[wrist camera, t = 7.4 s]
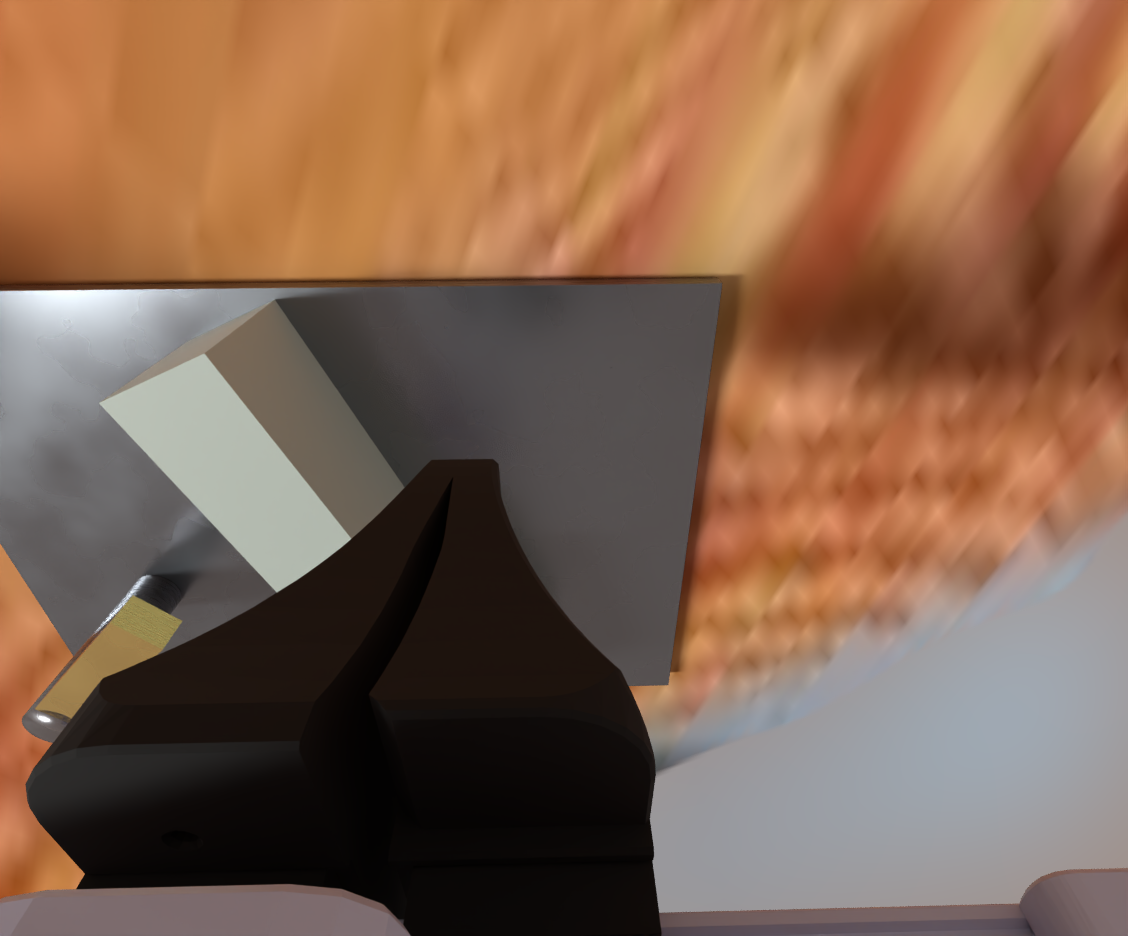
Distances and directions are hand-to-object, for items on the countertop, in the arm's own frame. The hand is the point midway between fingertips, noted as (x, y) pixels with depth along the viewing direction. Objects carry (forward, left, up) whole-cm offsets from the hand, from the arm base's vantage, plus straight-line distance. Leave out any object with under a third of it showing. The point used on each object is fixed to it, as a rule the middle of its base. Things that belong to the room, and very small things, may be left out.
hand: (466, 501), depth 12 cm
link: (-6, +4, -7) cm, 10 cm away
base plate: (-6, +6, -7) cm, 11 cm away
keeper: (-7, +11, -7) cm, 15 cm away
